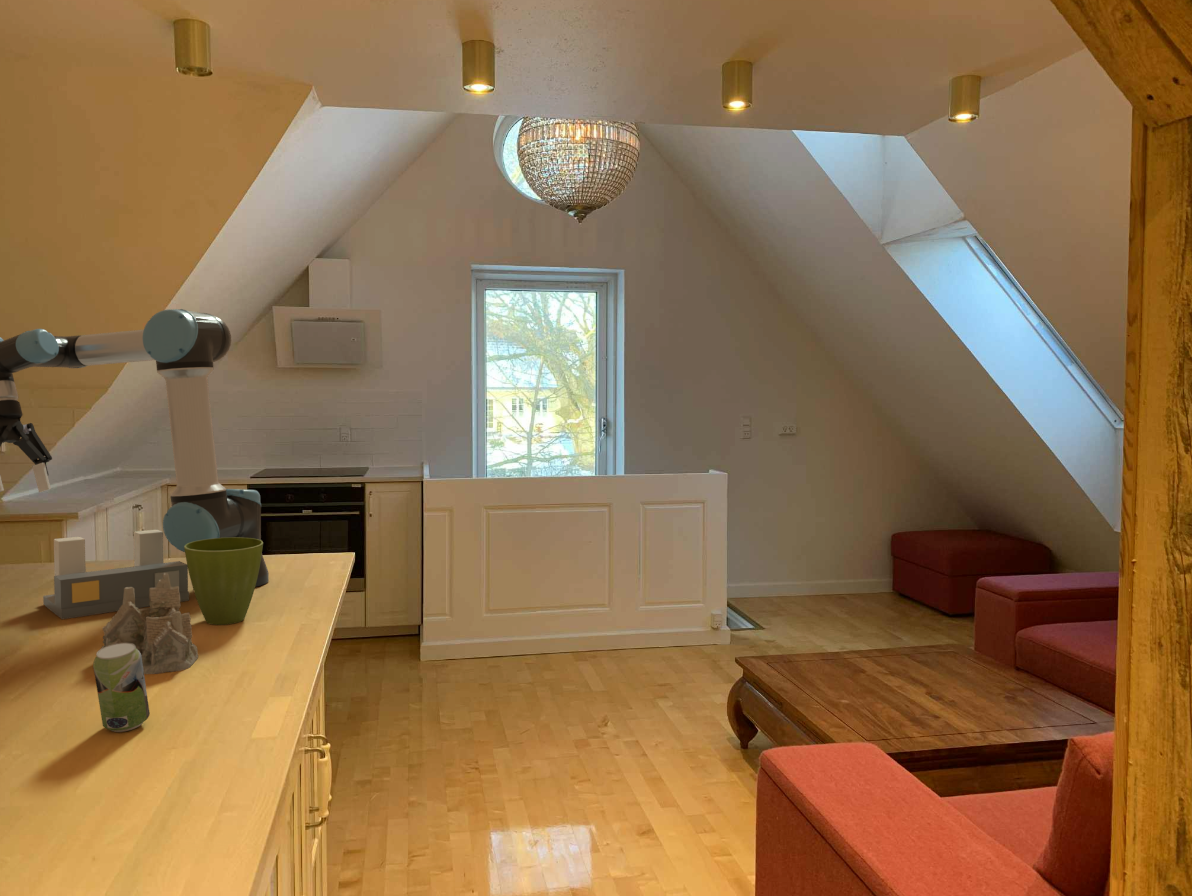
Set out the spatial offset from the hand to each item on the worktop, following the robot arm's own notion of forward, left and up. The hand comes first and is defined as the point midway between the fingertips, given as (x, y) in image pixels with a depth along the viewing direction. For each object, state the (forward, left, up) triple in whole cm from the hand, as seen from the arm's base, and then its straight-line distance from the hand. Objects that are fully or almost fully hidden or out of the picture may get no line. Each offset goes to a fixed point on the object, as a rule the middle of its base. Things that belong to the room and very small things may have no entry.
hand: (22, 491), depth 206 cm
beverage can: (-72, +74, -23) cm, 106 cm away
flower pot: (-58, +18, -23) cm, 65 cm away
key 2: (-30, -1, -20) cm, 36 cm away
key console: (-28, +8, -23) cm, 37 cm away
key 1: (-19, +11, -20) cm, 30 cm away
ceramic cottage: (-58, +45, -23) cm, 77 cm away
